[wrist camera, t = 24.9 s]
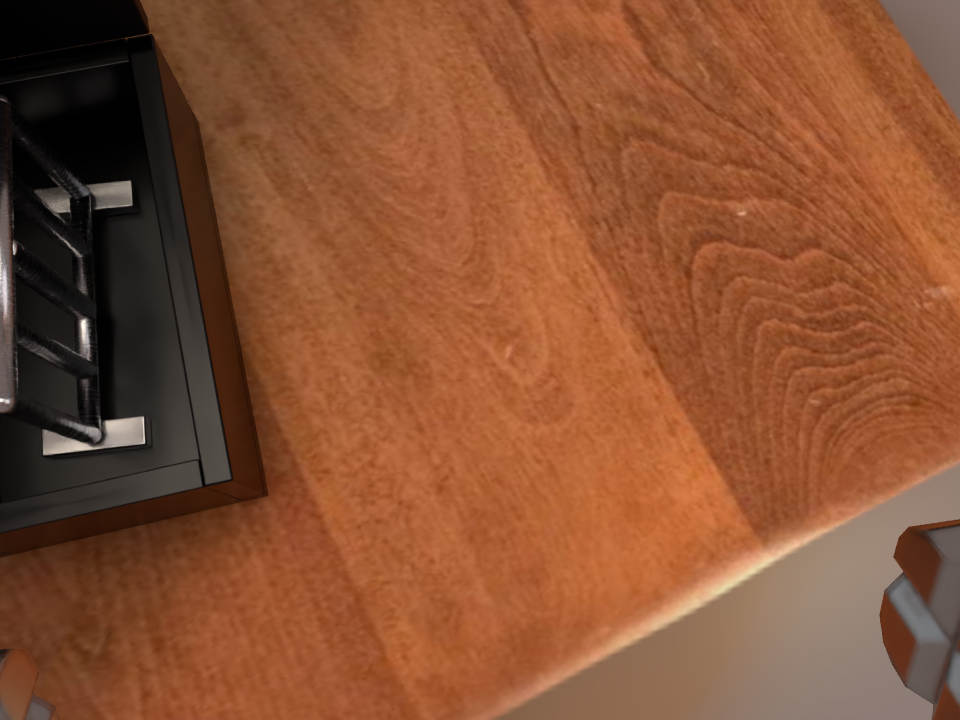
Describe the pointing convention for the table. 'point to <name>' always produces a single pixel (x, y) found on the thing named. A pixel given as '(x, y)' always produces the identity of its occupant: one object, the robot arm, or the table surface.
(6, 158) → the rack
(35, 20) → the oven door
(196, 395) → the oven
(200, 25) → the table surface
